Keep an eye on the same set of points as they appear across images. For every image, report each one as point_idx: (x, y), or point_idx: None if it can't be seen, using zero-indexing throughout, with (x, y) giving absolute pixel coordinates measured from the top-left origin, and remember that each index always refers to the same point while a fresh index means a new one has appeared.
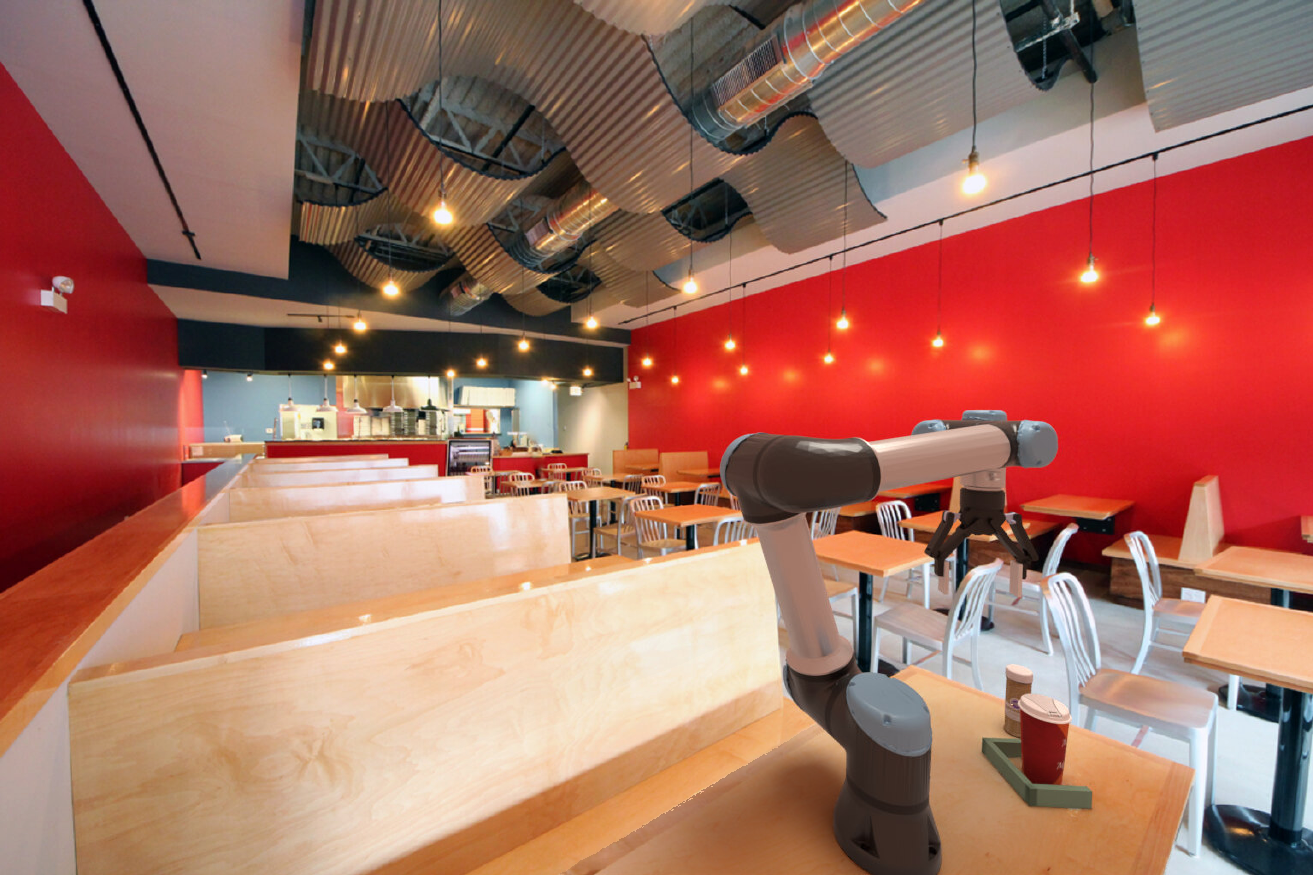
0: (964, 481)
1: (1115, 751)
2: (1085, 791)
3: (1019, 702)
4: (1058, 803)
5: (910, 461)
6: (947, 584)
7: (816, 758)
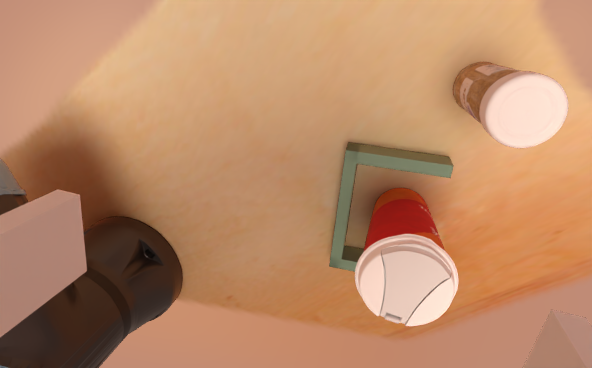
0: None
1: None
2: None
3: (370, 251)
4: None
5: None
6: (27, 308)
7: (80, 133)
